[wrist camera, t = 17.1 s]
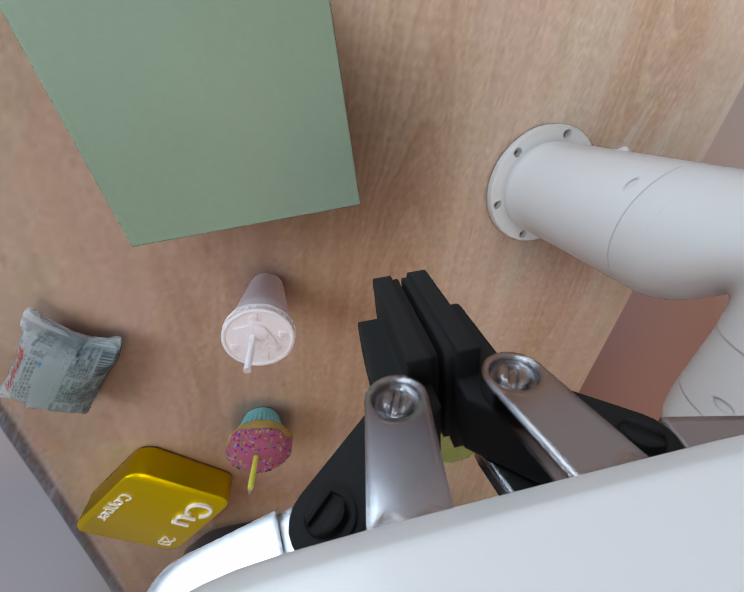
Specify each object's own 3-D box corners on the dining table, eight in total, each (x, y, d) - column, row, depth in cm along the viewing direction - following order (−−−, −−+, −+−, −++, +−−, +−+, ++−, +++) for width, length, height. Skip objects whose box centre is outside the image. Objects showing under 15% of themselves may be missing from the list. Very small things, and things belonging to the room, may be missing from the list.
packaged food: (7, 376, 37) (-28, 411, 33) (39, 296, 33) (4, 325, 29) (98, 399, 41) (76, 433, 37) (135, 330, 37) (116, 359, 33)
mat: (460, 401, 55) (465, 410, 53) (495, 425, 60) (501, 434, 59) (411, 440, 57) (414, 450, 56) (448, 460, 63) (452, 470, 61)
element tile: (143, 441, 46) (128, 474, 42) (238, 474, 53) (233, 505, 49) (86, 498, 49) (67, 534, 45) (182, 522, 56) (173, 555, 52)
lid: (321, -44, 19) (322, -49, 18) (358, 201, 26) (360, 204, 25) (1, -7, 17) (-12, -11, 16) (136, 243, 24) (131, 247, 24)
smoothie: (254, 251, 35) (234, 327, 24) (306, 279, 38) (311, 360, 26) (225, 295, 37) (193, 386, 25) (277, 319, 40) (269, 411, 28)
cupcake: (222, 405, 45) (201, 494, 35) (284, 390, 46) (281, 473, 36) (243, 444, 50) (229, 532, 40) (299, 429, 51) (300, 512, 40)
